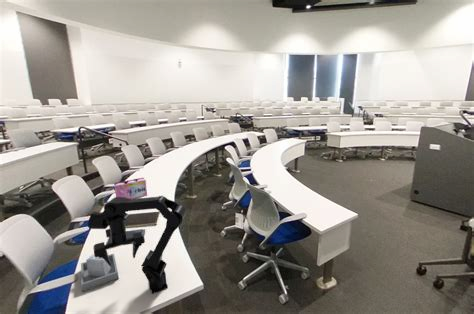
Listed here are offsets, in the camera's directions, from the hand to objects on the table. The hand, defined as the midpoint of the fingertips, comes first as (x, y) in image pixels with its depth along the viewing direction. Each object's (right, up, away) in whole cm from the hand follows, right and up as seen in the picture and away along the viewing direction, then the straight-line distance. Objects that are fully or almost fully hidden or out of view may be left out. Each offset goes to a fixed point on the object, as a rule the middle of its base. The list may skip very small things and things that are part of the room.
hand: (122, 261), depth 104 cm
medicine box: (-15, -10, +10) cm, 20 cm away
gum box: (-38, +11, +98) cm, 105 cm away
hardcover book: (-16, +1, +59) cm, 61 cm away
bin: (-15, -10, +10) cm, 21 cm away
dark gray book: (-16, -4, +39) cm, 43 cm away
